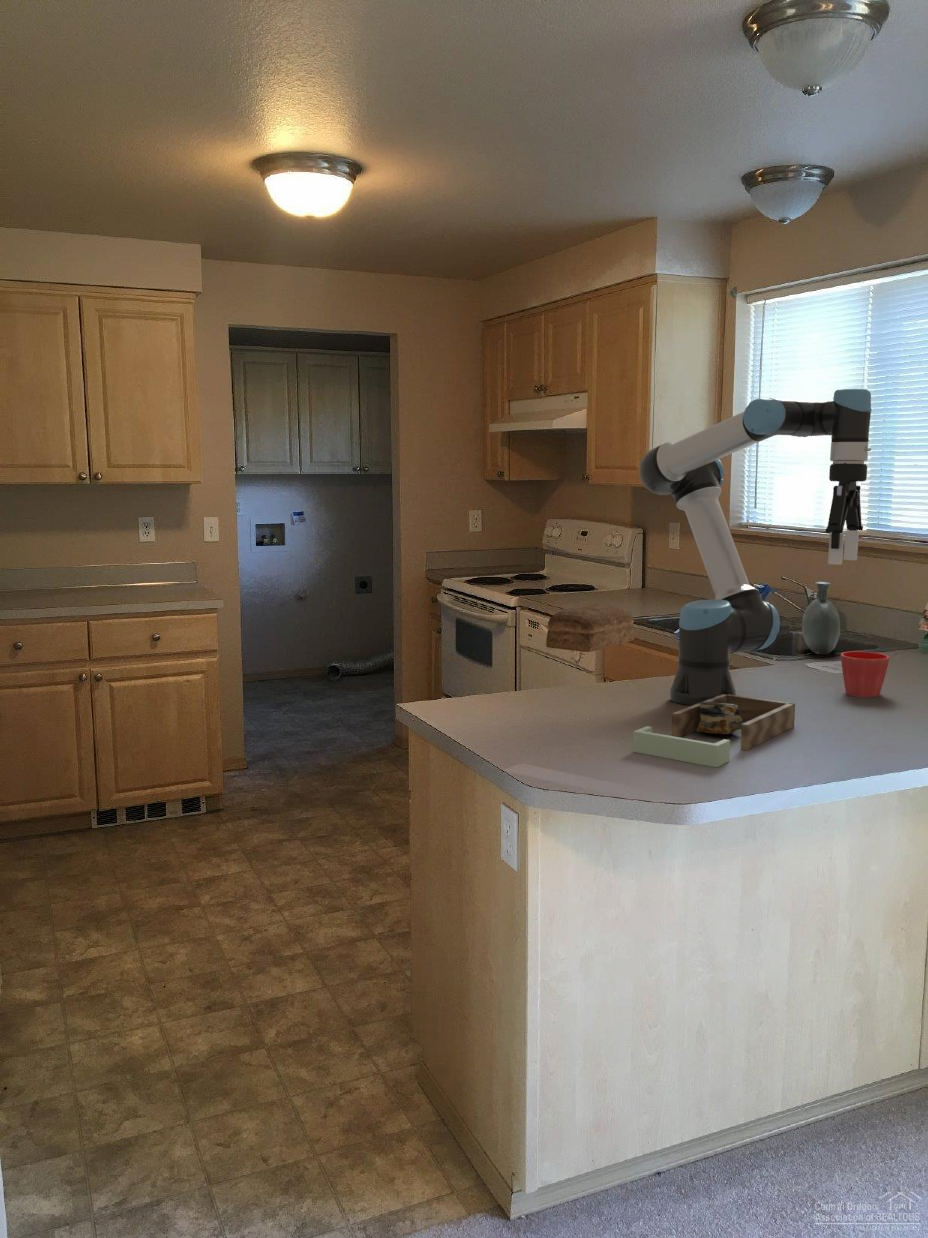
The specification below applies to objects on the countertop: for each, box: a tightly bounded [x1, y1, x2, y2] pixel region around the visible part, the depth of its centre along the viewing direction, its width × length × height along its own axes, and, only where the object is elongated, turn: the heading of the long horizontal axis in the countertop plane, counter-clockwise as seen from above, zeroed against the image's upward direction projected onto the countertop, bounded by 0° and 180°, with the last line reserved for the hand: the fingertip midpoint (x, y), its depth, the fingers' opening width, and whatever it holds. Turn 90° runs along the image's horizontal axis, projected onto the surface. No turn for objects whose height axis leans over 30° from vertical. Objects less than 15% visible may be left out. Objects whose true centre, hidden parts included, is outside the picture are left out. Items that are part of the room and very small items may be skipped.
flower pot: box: [840, 650, 890, 698], centre depth 244 cm, size 11×11×10 cm
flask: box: [801, 581, 841, 656], centre depth 298 cm, size 12×17×22 cm
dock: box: [632, 725, 731, 768], centre depth 189 cm, size 5×17×4 cm, turn 51°
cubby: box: [670, 694, 796, 752], centre depth 207 cm, size 24×16×5 cm, turn 141°
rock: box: [696, 702, 743, 735], centre depth 205 cm, size 9×9×6 cm
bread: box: [545, 603, 636, 653], centre depth 315 cm, size 17×30×13 cm, turn 142°
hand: (842, 562), depth 218 cm, fingers open, 13 cm apart
